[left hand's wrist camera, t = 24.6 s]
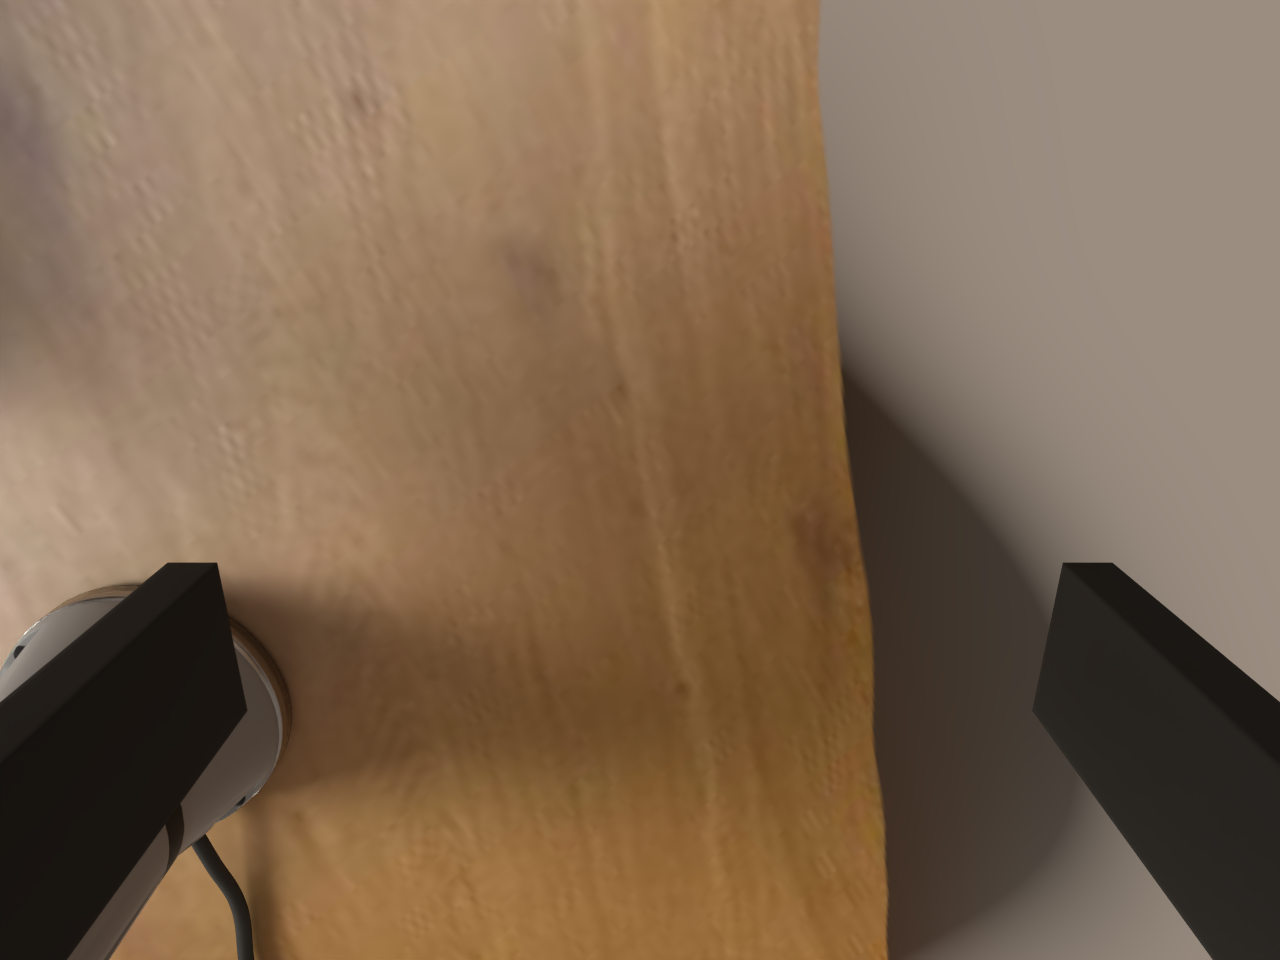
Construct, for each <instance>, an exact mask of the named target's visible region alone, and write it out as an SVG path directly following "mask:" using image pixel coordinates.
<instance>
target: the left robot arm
mask: <svg viewBox="0 0 1280 960" xmlns="http://www.w3.org/2000/svg"><path fill="white" fill-rule="evenodd" d="M1032 711H1033V712H1034V714H1035V715H1036V716H1037V718H1038V719H1039V721H1040V722H1041V723H1042V725H1043V726H1044V727H1045V729H1046V730H1047V732H1048V733H1049V734H1050V736H1051V737H1052V739H1053V740H1054V741H1055V743H1056V744H1057V745H1058V747H1059V748H1060V750H1061V751H1062V752H1063V754H1064V755H1065V756H1066V758H1067V759H1068V761H1069V762H1070V763H1071V765H1072V766H1073V767H1074V769H1075V770H1076V772H1077V773H1078V774H1079V776H1080V777H1081V779H1082V780H1083V781H1084V783H1085V784H1086V785H1087V787H1088V788H1089V790H1090V791H1091V792H1092V794H1093V795H1094V796H1095V798H1096V799H1097V801H1098V802H1099V803H1100V805H1101V806H1102V807H1103V809H1104V810H1105V811H1106V813H1107V814H1108V816H1109V817H1110V818H1111V820H1112V821H1113V823H1114V824H1115V825H1116V827H1117V828H1118V830H1119V831H1120V832H1121V834H1122V835H1123V836H1124V838H1125V839H1126V841H1127V842H1128V843H1129V845H1130V846H1131V847H1132V849H1133V850H1134V852H1135V853H1136V854H1137V856H1138V857H1139V859H1140V860H1141V861H1142V863H1143V864H1144V865H1145V867H1146V868H1147V870H1148V871H1149V872H1150V874H1151V875H1152V876H1153V878H1154V879H1155V881H1156V882H1157V883H1158V885H1159V886H1160V887H1161V889H1162V890H1163V892H1164V893H1165V894H1166V896H1167V897H1168V898H1169V900H1170V901H1171V903H1172V904H1173V905H1174V907H1175V908H1176V910H1177V911H1178V912H1179V914H1180V915H1181V916H1182V918H1183V919H1184V921H1185V922H1186V923H1187V925H1188V926H1189V927H1190V929H1191V930H1192V931H1193V933H1194V934H1195V936H1196V937H1197V938H1198V940H1199V941H1200V943H1201V944H1202V945H1203V947H1204V948H1205V950H1206V951H1207V952H1208V954H1209V955H1210V956H1211V958H1212V959H1213V960H1280V702H1279V701H1278V700H1277V699H1275V698H1274V697H1273V696H1272V695H1271V694H1269V693H1268V692H1267V691H1266V690H1265V689H1263V688H1262V687H1261V686H1260V685H1259V684H1257V683H1256V682H1255V681H1254V680H1253V679H1251V678H1250V677H1249V676H1248V675H1247V674H1245V673H1244V672H1243V671H1242V670H1241V669H1239V668H1238V667H1237V666H1236V665H1235V664H1233V663H1232V662H1231V661H1230V660H1228V659H1227V658H1226V657H1225V656H1224V655H1223V654H1221V653H1220V652H1219V651H1218V650H1217V649H1215V648H1214V647H1213V646H1212V645H1211V644H1209V643H1208V642H1207V641H1206V640H1205V639H1203V638H1202V637H1201V636H1200V635H1199V634H1197V633H1196V632H1195V631H1194V630H1192V629H1191V628H1190V627H1189V626H1188V625H1186V624H1185V623H1184V622H1183V621H1182V620H1180V619H1179V618H1178V617H1177V616H1176V615H1174V614H1173V613H1172V612H1171V611H1170V610H1168V609H1167V608H1166V607H1165V606H1164V605H1162V604H1161V603H1160V602H1159V601H1158V600H1156V599H1155V598H1154V597H1153V596H1152V595H1150V594H1149V593H1148V592H1147V591H1146V590H1144V589H1143V588H1142V587H1141V586H1139V585H1138V584H1137V583H1136V582H1135V581H1134V580H1132V579H1131V578H1130V577H1129V576H1128V575H1126V574H1125V573H1124V572H1123V571H1122V570H1120V569H1119V568H1118V567H1117V566H1116V565H1114V564H1113V563H1063V565H1062V570H1061V574H1060V579H1059V584H1058V589H1057V594H1056V599H1055V604H1054V608H1053V613H1052V618H1051V623H1050V628H1049V633H1048V638H1047V642H1046V647H1045V652H1044V657H1043V662H1042V667H1041V671H1040V676H1039V681H1038V686H1037V691H1036V696H1035V700H1034V705H1033V710H1032ZM290 729H291V708H290V701H289V697H288V693H287V689H286V687H285V684H284V681H283V679H282V677H281V675H280V672H279V670H278V669H277V667H276V665H275V664H274V662H273V660H272V659H271V657H270V656H269V655H268V653H267V652H266V651H265V649H264V648H263V647H262V646H261V645H260V644H259V642H258V641H257V640H256V639H255V638H254V637H253V636H252V635H251V634H250V633H249V632H248V631H246V630H245V629H244V628H243V627H242V626H240V625H239V624H238V623H237V622H235V621H234V620H233V619H231V618H230V617H228V613H227V608H226V604H225V599H224V594H223V589H222V584H221V579H220V574H219V570H218V565H217V563H167V564H166V565H164V566H163V567H162V568H161V569H160V570H158V571H157V572H156V573H155V574H154V575H152V576H151V577H150V578H149V579H148V580H146V581H145V582H144V583H143V584H142V585H140V586H114V587H106V588H101V589H96V590H92V591H89V592H86V593H83V594H80V595H78V596H76V597H73V598H71V599H69V600H67V601H66V602H64V603H63V604H61V605H59V606H58V607H56V608H55V609H54V610H52V611H51V612H50V613H48V614H47V615H46V616H44V617H43V618H42V619H40V620H39V621H38V622H37V623H35V624H34V625H33V626H32V627H30V628H29V629H28V630H27V632H26V633H25V634H24V635H23V636H22V637H21V638H20V640H19V641H18V642H17V644H16V645H15V646H14V648H13V649H12V650H11V652H10V653H9V655H8V657H7V659H6V661H5V663H4V664H3V666H2V669H1V671H0V960H109V959H110V958H111V956H112V955H113V953H114V952H115V950H116V949H117V947H118V946H119V944H120V943H121V941H122V939H123V938H124V936H125V935H126V933H127V932H128V930H129V929H130V927H131V926H132V924H133V923H134V921H135V920H136V918H137V917H138V915H139V914H140V912H141V910H142V909H143V907H144V906H145V904H146V903H147V901H148V900H149V898H150V897H151V895H152V894H153V892H154V891H155V889H156V888H157V886H158V885H159V883H160V882H161V880H162V879H163V877H164V876H165V874H166V873H167V871H168V870H169V868H170V867H171V865H172V864H173V862H174V861H175V859H176V858H177V856H178V855H180V854H181V853H182V852H183V851H185V850H186V849H187V848H189V847H190V846H192V847H193V849H194V851H195V852H196V854H197V856H198V857H199V859H200V860H201V862H202V864H203V865H204V867H205V868H206V870H207V872H208V873H209V874H210V876H211V877H212V879H213V880H214V881H215V883H216V884H217V885H218V887H219V888H220V889H221V891H222V892H223V894H224V895H225V897H226V899H227V900H228V903H229V905H230V908H231V910H232V914H233V917H234V922H235V929H236V940H237V954H238V960H254V954H253V942H252V927H251V919H250V914H249V910H248V906H247V903H246V900H245V898H244V895H243V893H242V891H241V889H240V887H239V885H238V884H237V882H236V881H235V879H234V878H233V876H232V875H231V873H230V872H229V871H228V869H227V868H226V866H225V865H224V864H223V862H222V861H221V859H220V857H219V856H218V854H217V853H216V851H215V849H214V847H213V846H212V844H211V842H210V841H209V839H208V837H207V836H206V833H207V832H208V831H209V830H210V829H211V828H212V827H213V825H214V824H215V823H216V822H218V821H221V820H223V819H224V818H226V817H228V816H229V815H231V814H233V813H234V812H236V811H237V810H238V809H239V808H241V807H242V806H243V805H244V804H246V803H247V802H248V801H249V800H250V799H251V798H252V797H253V796H254V795H255V794H256V793H257V792H258V791H259V790H260V789H261V788H262V787H263V785H264V784H265V783H266V781H267V780H268V778H269V777H270V775H271V774H272V772H273V770H274V769H275V767H276V765H277V764H278V762H279V760H280V759H281V757H282V755H283V753H284V751H285V748H286V746H287V743H288V739H289V735H290Z"/></svg>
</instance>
